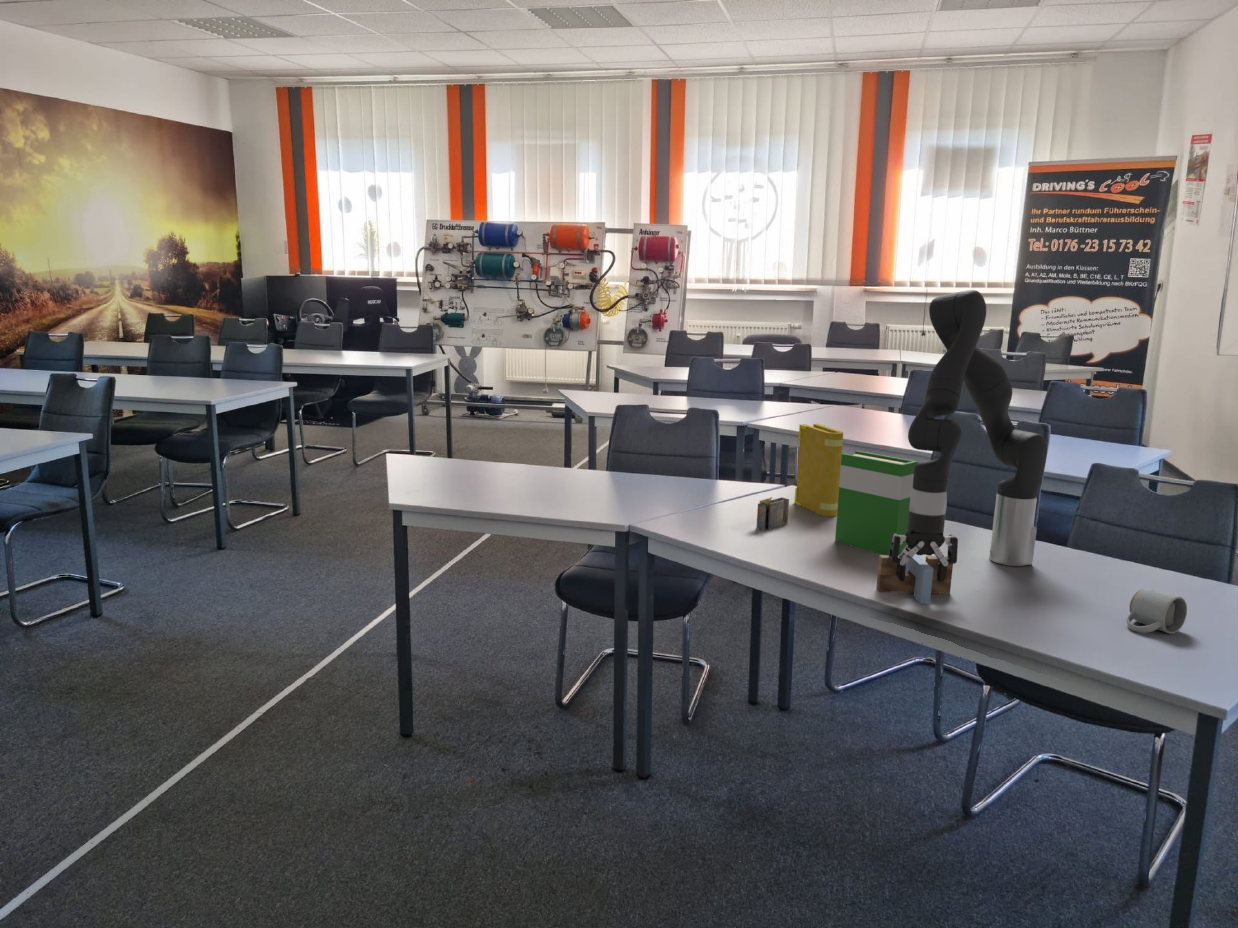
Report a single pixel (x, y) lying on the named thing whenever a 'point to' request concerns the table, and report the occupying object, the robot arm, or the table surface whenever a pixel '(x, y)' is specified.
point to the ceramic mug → (1157, 611)
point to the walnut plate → (909, 577)
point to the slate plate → (921, 578)
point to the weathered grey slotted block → (772, 513)
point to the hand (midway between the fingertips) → (920, 580)
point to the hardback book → (873, 500)
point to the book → (819, 469)
